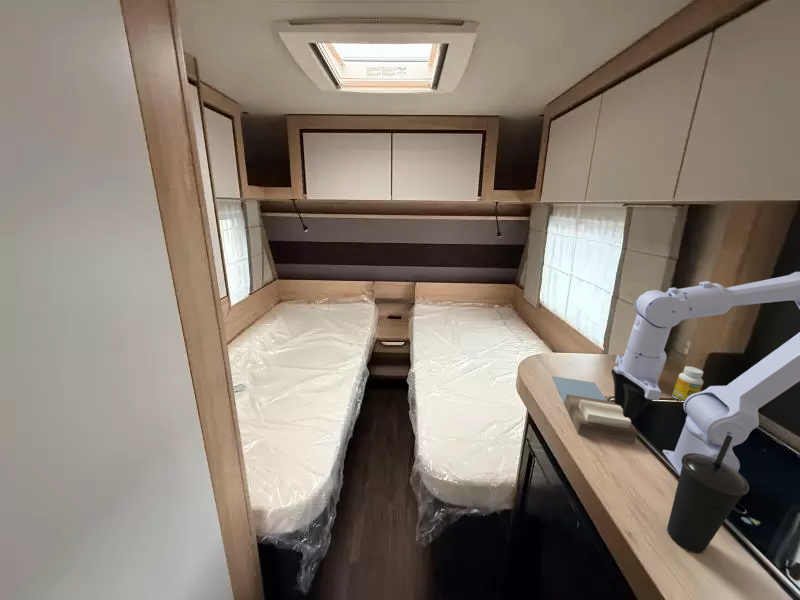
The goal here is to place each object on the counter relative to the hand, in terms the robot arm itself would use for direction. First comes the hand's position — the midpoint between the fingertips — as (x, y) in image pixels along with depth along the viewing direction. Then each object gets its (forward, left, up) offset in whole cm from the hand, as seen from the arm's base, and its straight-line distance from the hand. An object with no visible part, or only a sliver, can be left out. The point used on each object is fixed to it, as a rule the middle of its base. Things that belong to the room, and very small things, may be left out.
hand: (624, 410), depth 70 cm
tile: (+8, 0, -7) cm, 11 cm away
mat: (+23, 0, -10) cm, 26 cm away
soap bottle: (+37, -21, -11) cm, 44 cm away
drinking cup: (-19, -4, -11) cm, 22 cm away
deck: (+10, 0, -10) cm, 14 cm away
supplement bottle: (+29, -29, -11) cm, 43 cm away
